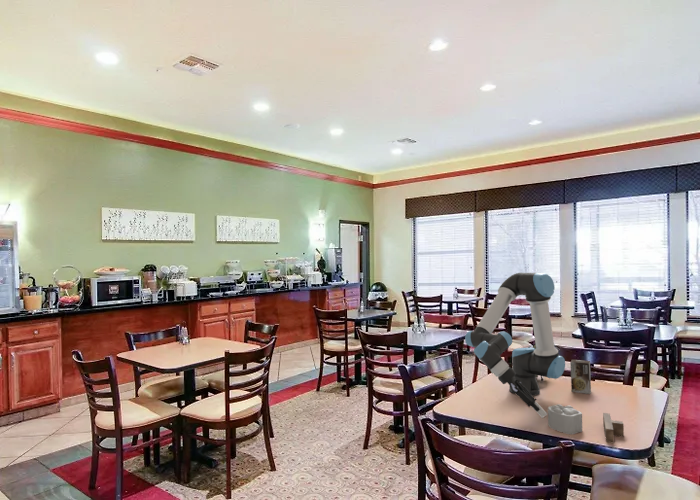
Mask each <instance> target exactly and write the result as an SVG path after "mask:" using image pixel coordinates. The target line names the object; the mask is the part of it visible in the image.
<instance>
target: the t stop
mask: <svg viewBox="0 0 700 500" xmlns="http://www.w3.org/2000/svg"><path fill="white" fill-rule="evenodd" d="M611 417H612V416H611V413H608V412H603V413H602V420H603V421H602V422H603V424H602V425H603V432H604V436H605V437H606V438H605V437H604V438H605V442H606V441H608V442H607V443H611V442H614V443H615V441H614V440H615V439H614V436H616V437H622V436H623V438H624V436H625V435H624V433H625V432H624V422H623V420H622V421H621V420H614V419H612V418H611Z"/></svg>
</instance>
